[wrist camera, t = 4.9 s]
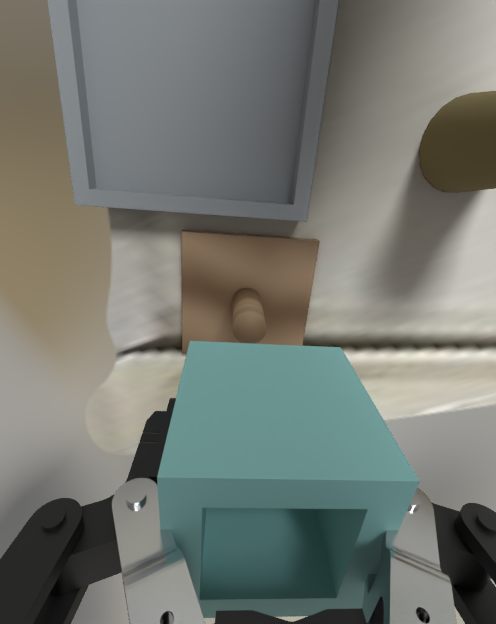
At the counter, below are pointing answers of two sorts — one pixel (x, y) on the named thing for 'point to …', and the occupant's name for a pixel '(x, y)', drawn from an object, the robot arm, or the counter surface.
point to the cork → (461, 144)
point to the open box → (279, 479)
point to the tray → (193, 102)
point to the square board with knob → (245, 288)
